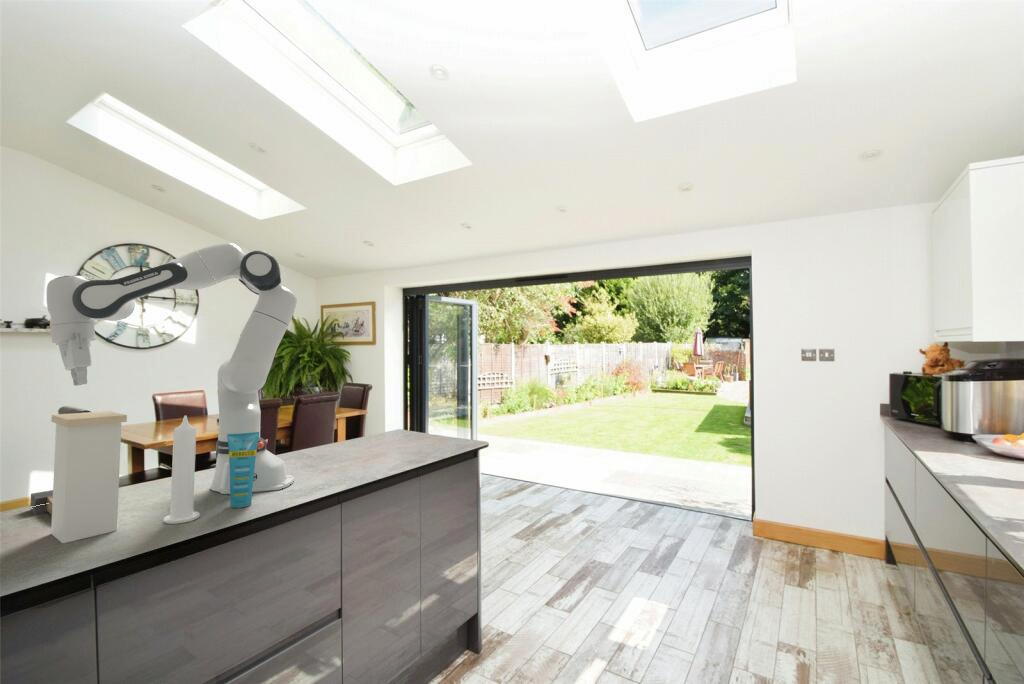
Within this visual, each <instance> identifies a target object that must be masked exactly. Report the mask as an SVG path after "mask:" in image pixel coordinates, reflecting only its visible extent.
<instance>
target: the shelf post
mask: <svg viewBox="0 0 1024 684" xmlns="http://www.w3.org/2000/svg"><path fill="white" fill-rule="evenodd" d="M127 416H128V415H127V414H124V413H120V412H115V411H111V410H105V411H91V412H90V411H88V412H76V413H61V414H51V422H52V423H54V424H55V443H54V463H53V486H52V487H53V488H52V490H53V503H52V515H51V526H50V527H51V528H50V531H51V532H50V534H51V535H52V536H53V537H54V538H55V539H56V540H58V541H59V542H60V543H61V544H66V543H67V544H68V543H69V542H74V541H79V540H83V539H87V538H91V537H95V536H101V535H104V534H108V533H112V532H116V531H117V530H118V518H119V517H118V513H119V512H118V511H119V493H120V492H119V489H120V487H119V486H120V468H121V467H120V466H121V465H120V464H121V445H122V444H121V441H122V436H121V435H122V423H126V422H127V421H128V420H127V418H128V417H127Z"/></svg>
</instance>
